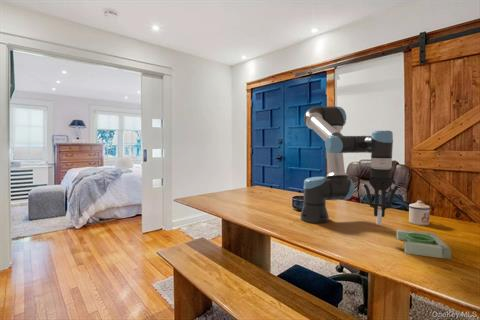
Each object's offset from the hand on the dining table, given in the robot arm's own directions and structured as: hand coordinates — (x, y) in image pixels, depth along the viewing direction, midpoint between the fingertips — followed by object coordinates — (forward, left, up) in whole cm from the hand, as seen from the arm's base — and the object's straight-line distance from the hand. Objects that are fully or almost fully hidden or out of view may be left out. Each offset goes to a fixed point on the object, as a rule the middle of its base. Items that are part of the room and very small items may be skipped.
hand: (378, 223), depth 105 cm
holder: (+14, -1, -8) cm, 16 cm away
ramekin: (+14, -1, -8) cm, 16 cm away
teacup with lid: (+23, +37, -8) cm, 45 cm away
